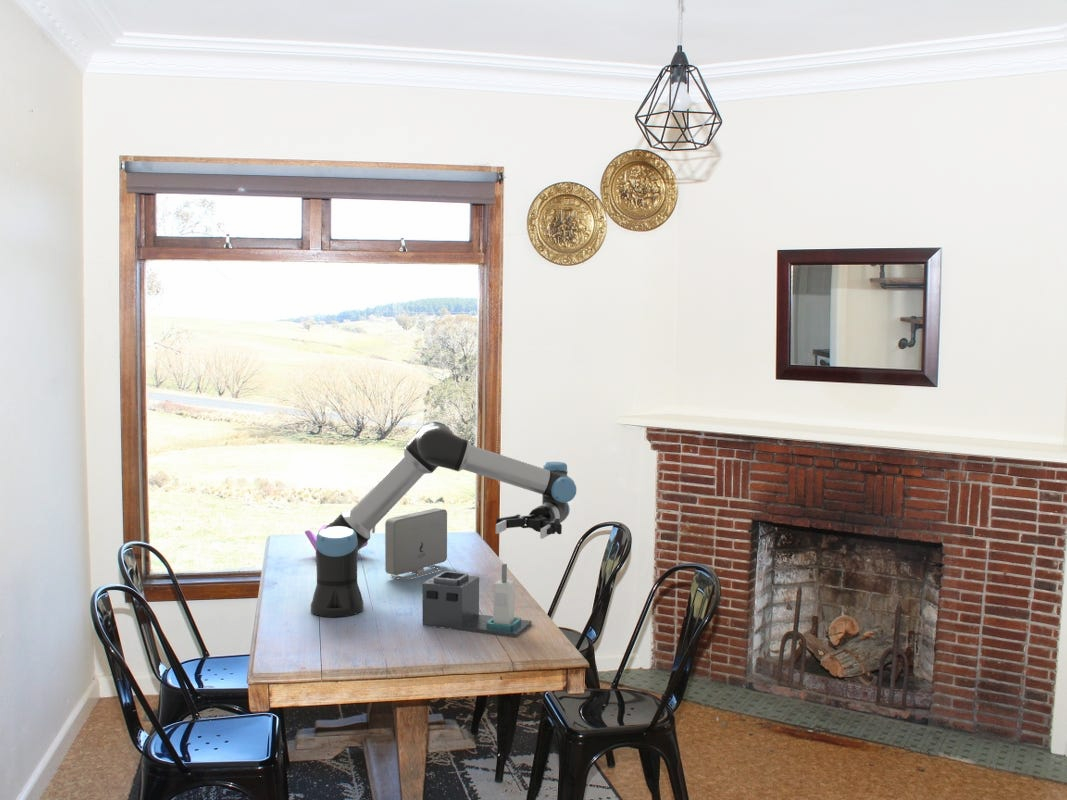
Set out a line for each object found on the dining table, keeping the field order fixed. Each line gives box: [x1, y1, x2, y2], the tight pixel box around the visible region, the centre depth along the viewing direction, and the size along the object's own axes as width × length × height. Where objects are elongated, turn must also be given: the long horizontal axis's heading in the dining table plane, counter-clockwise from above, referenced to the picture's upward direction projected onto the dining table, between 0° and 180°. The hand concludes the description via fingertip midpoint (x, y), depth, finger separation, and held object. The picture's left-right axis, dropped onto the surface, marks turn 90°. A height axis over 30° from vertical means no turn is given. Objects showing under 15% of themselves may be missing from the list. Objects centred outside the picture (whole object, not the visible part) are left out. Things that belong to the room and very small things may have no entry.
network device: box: [384, 507, 448, 580], centre depth 331 cm, size 26×9×20 cm, turn 143°
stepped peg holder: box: [421, 570, 532, 638], centre depth 277 cm, size 13×28×13 cm, turn 70°
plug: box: [493, 563, 515, 625], centre depth 274 cm, size 5×4×17 cm
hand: (519, 531), depth 282 cm, fingers open, 13 cm apart
